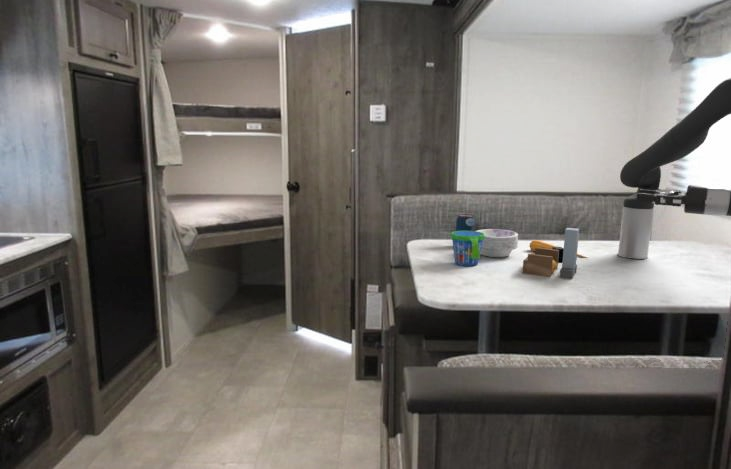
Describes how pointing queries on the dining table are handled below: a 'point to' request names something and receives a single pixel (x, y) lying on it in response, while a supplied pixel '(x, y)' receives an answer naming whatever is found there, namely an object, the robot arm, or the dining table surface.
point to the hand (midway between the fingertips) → (637, 195)
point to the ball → (554, 266)
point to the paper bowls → (498, 242)
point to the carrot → (544, 246)
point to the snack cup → (467, 247)
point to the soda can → (465, 222)
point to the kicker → (570, 253)
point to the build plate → (560, 258)
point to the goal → (540, 262)
